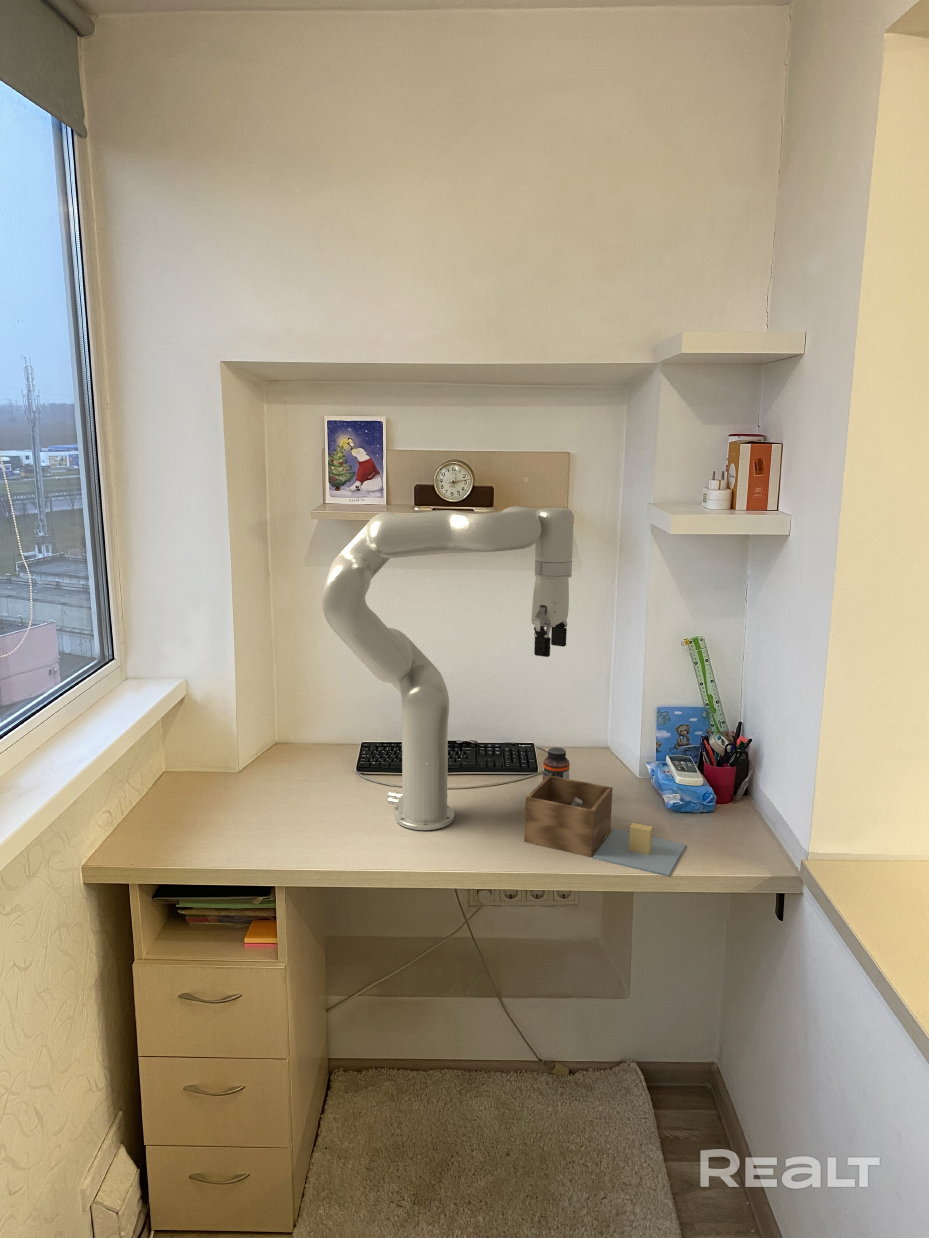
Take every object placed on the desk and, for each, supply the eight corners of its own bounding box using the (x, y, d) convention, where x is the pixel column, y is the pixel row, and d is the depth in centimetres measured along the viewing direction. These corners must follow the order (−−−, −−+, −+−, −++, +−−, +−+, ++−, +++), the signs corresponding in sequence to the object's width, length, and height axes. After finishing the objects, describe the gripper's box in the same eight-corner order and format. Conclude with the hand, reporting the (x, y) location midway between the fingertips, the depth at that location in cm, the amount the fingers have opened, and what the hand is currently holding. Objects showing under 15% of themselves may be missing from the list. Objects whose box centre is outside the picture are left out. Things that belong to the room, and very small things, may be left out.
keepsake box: (524, 841, 173) (525, 797, 171) (547, 816, 185) (548, 775, 183) (591, 857, 167) (593, 811, 165) (610, 830, 179) (612, 787, 177)
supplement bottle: (537, 799, 194) (539, 751, 191) (547, 789, 199) (549, 743, 196) (562, 804, 191) (564, 756, 188) (572, 795, 196) (574, 748, 194)
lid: (592, 861, 167) (593, 832, 166) (614, 832, 179) (615, 806, 178) (668, 879, 160) (670, 849, 159) (685, 848, 172) (687, 820, 171)
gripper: (550, 562, 184) (548, 640, 188) (519, 573, 169) (517, 657, 173) (584, 565, 181) (581, 644, 185) (556, 576, 166) (553, 662, 170)
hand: (550, 650), depth 179 cm, fingers open, 9 cm apart
